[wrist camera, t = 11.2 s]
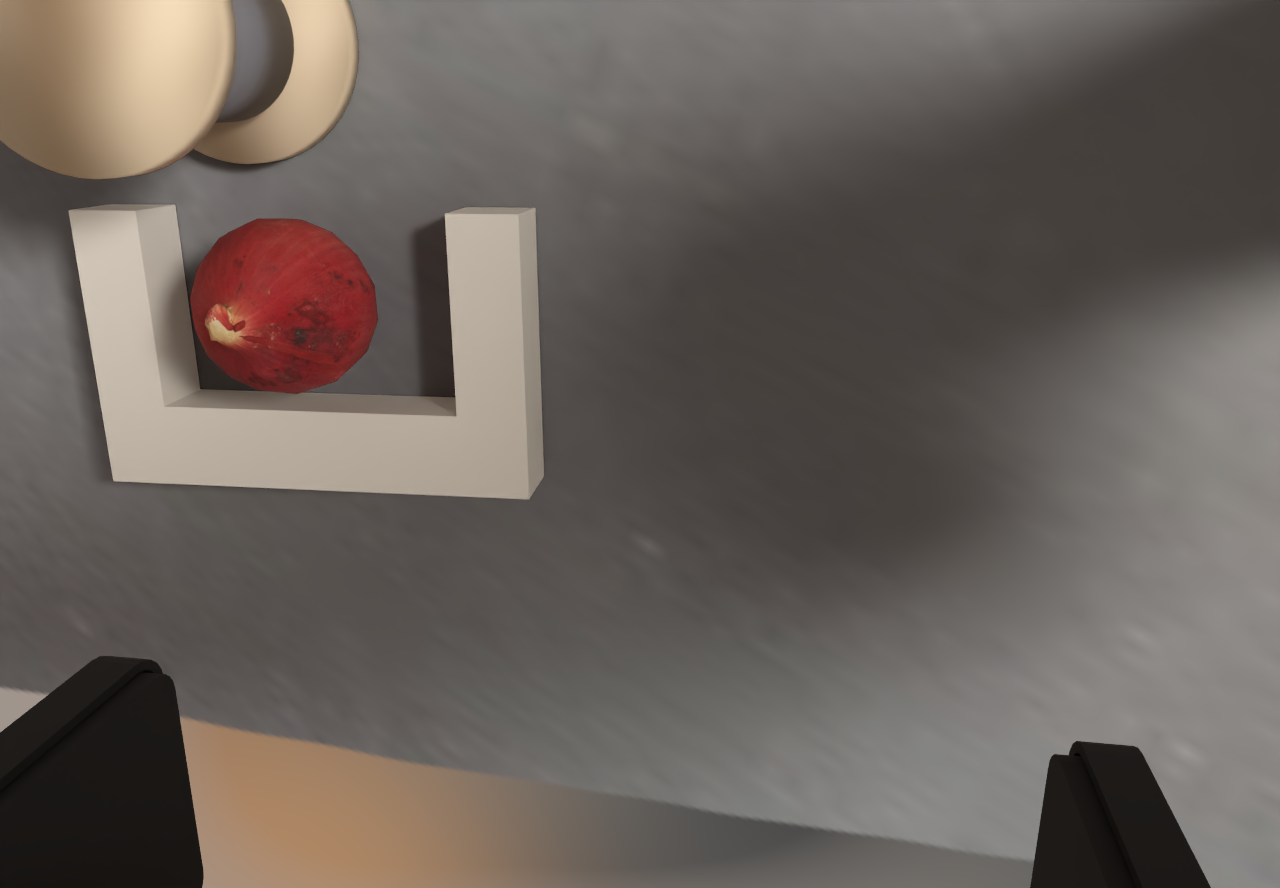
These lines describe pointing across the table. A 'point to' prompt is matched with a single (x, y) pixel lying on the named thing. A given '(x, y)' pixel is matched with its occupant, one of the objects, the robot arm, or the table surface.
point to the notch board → (315, 422)
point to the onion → (283, 305)
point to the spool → (171, 80)
